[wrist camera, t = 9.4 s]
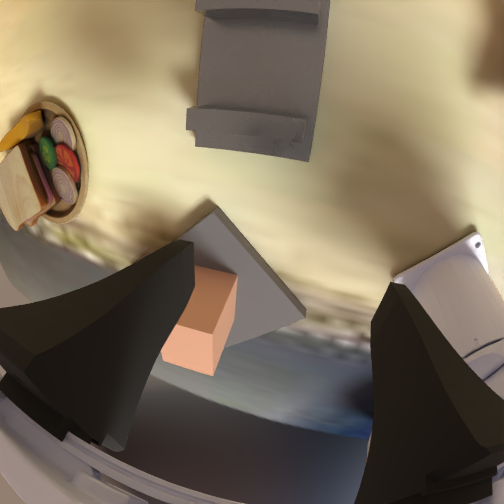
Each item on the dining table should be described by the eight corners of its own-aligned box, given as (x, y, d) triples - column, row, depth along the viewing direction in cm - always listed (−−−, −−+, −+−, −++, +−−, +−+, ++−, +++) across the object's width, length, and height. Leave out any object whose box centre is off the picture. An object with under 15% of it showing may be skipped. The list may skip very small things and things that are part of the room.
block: (188, 263, 22) (152, 316, 17) (237, 275, 21) (212, 334, 16) (191, 308, 24) (163, 360, 19) (234, 319, 24) (212, 375, 19)
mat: (306, 309, 23) (305, 317, 22) (215, 344, 28) (212, 351, 27) (218, 206, 19) (213, 212, 19) (138, 270, 25) (132, 276, 24)
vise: (216, -24, 10) (194, -43, 8) (331, -19, 10) (333, -42, 7) (201, 143, 17) (177, 156, 14) (309, 158, 16) (307, 173, 13)
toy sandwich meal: (113, 209, 22) (78, 235, 18) (40, 225, 26) (13, 246, 22) (76, 76, 16) (32, 83, 12) (9, 130, 20) (-22, 144, 16)
